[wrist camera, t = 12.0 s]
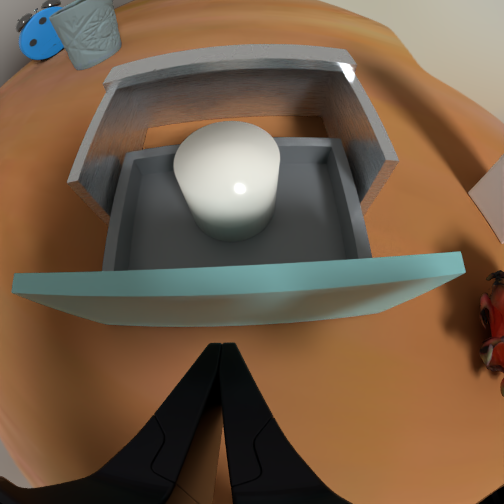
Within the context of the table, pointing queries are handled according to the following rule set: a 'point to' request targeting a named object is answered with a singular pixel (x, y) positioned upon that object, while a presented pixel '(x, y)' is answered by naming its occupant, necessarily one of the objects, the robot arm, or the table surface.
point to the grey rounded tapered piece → (229, 178)
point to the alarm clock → (39, 33)
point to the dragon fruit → (494, 325)
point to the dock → (231, 108)
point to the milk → (491, 197)
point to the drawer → (239, 253)
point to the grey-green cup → (87, 31)
